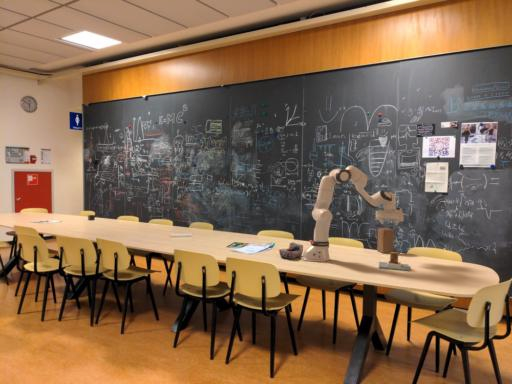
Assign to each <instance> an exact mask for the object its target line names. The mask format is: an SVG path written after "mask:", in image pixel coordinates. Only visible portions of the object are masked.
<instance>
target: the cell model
mask: <svg viewBox="0 0 512 384" xmlns="http://www.w3.org/2000/svg"><path fill="white" fill-rule="evenodd" d="M278 251H279V256H280V258H282V259H287V260H294V259H296V258H300V256H303V253H304V245H303V244H300V243H297V242H293V241H292V242H290V243H289V247H288V248H281V249H280V248H279V249H278Z"/></svg>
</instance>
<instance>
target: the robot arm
mask: <svg viewBox="0 0 512 384" xmlns="http://www.w3.org/2000/svg"><path fill="white" fill-rule="evenodd" d="M349 181H350V182H351V183H352V184H353V185H354V189H355V191H356V192H357V194H358V195H359V196H360V197H361V198H362V199H363V200H364V201H365V202H366V204H367V206H368V207H369V208H371V209H374V210H375V209H377V208H379V207H380V206H381V205H383V209H377V210H375V220H376V221H380V223H381V225H384V224H385V223H384V222H385V221H386V222H394V226H398V224H399V222H402V223H403V222H404V220H405V218H404V212H403V208H401V207H398V206H396V204H397V198H396V195H395V194H394V193H393V192H389V191H387V190H385V189H380V190H379V191H377V192H376V193H374V194H373V195H370V194H369V193H368V192H367V191H366V190H365V187H366V185H367V182H368V176H367V175H366V173H365V172H363V171H362V170H361V169H359V168H358V167H357V166H356V167H355V166H354V165H348V166H347V167H346V168H333V169H331V170H330V171H329V173H328V174H327V175H324V176H322V178H321V180H320V183H319V187H318V192H317V198H316V201H315V204H314V207H313V210H312V211H311V216H312V218H313V220H314V221H315V227H314V229H313V240H311V239H309V243H310V245H309V246H308V247H307V248H305V249H303V253H302V255H301V256H299V258H300V260H301V261H303V262H305V261H306V262H322V263H323V262H327V261H330V260H331V258H330V251H329V248H330V241H329V238H330V236H329V233H330V227H331V222H332V220H333V214H332V212H331V211H330V210H329V208H330V205H331V203H332V201H333V198H334V197H333V196H334V192H335V191H334V190H335V189H334V188H335V186H336V184H346V183H347V182H349Z"/></svg>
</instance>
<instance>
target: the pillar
mask: <svg viewBox="0 0 512 384" xmlns="http://www.w3.org/2000/svg"><path fill="white" fill-rule="evenodd" d="M389 254H390V256H389V258H390V259H389V261H390V263H391V264H398V262H399V252H398V251H396V252H395V251H393V252H390V253H389Z"/></svg>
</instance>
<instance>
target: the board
mask: <svg viewBox="0 0 512 384" xmlns="http://www.w3.org/2000/svg"><path fill="white" fill-rule="evenodd" d="M378 269H383V270H391V269H392V270H393V271H402V270H403V271H404V272H410V271H411V269H410V265H409V264H408V263H401V261H398V264H391V263H390V260H387V261H386V262H385V261H379V262H378Z"/></svg>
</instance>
